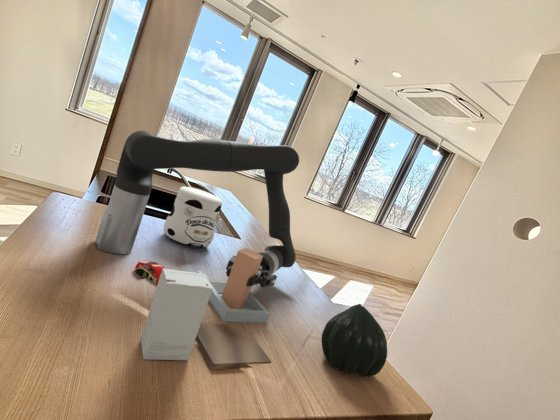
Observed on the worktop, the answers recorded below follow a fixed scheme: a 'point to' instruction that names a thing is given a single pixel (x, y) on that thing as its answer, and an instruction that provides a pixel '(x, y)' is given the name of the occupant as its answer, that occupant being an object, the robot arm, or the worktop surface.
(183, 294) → the skincare box
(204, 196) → the milk container
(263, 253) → the robot arm
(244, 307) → the grey channel
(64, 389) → the worktop surface
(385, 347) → the squash
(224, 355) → the walnut board
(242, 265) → the terracotta block
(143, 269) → the race car
